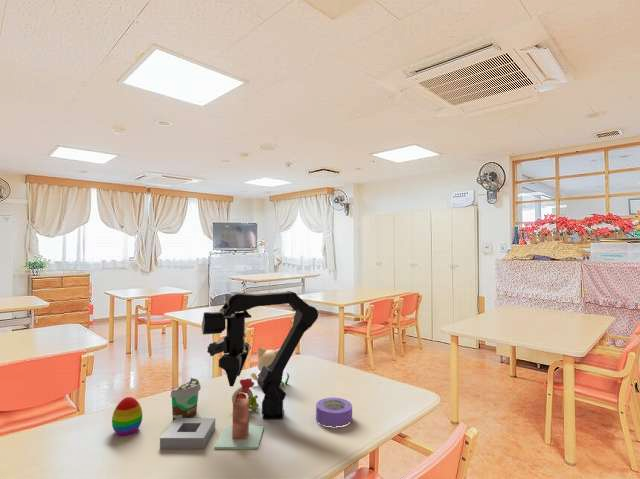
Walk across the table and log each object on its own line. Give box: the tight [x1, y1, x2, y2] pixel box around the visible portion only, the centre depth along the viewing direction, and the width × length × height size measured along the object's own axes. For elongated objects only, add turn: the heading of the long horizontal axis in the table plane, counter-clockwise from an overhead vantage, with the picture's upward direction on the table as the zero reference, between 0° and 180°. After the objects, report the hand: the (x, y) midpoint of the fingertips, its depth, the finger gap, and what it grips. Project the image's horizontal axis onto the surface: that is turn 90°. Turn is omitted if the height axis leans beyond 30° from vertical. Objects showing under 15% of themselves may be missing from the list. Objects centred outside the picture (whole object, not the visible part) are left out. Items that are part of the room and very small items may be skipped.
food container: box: [170, 377, 202, 421], centre depth 122 cm, size 12×6×10 cm, turn 168°
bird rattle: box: [231, 377, 260, 411], centre depth 126 cm, size 6×11×9 cm
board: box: [213, 425, 265, 450], centre depth 107 cm, size 12×12×1 cm
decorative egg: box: [111, 396, 143, 436], centre depth 111 cm, size 8×8×10 cm
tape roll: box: [315, 397, 353, 427], centre depth 120 cm, size 12×12×5 cm
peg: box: [232, 398, 250, 439], centre depth 108 cm, size 4×4×10 cm
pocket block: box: [159, 417, 216, 450], centre depth 107 cm, size 12×12×3 cm
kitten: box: [250, 346, 290, 387], centre depth 152 cm, size 15×10×15 cm, turn 77°
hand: (234, 380), depth 118 cm, fingers open, 9 cm apart
